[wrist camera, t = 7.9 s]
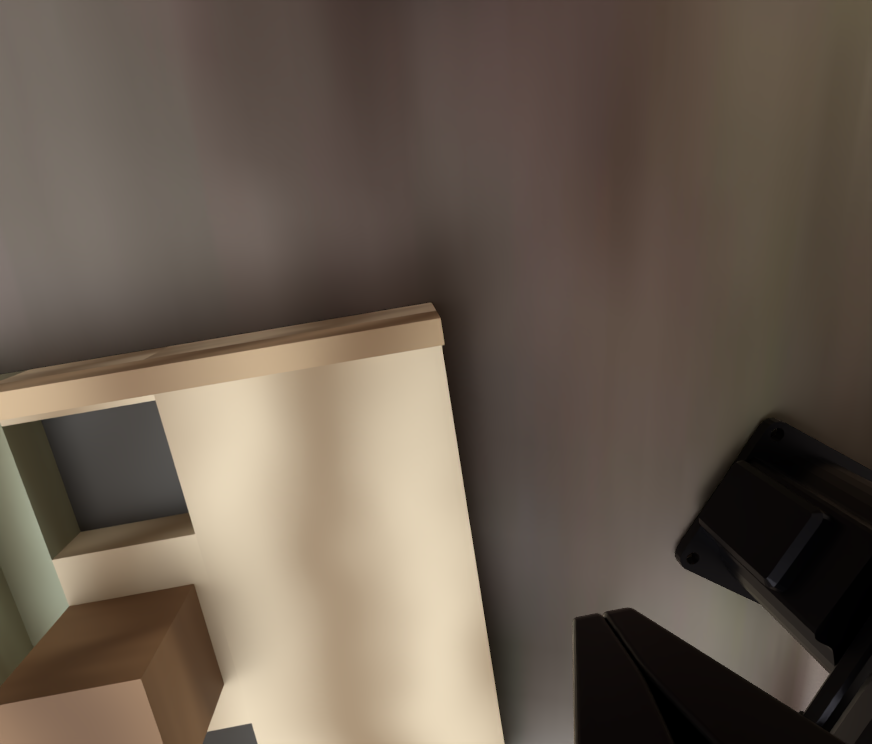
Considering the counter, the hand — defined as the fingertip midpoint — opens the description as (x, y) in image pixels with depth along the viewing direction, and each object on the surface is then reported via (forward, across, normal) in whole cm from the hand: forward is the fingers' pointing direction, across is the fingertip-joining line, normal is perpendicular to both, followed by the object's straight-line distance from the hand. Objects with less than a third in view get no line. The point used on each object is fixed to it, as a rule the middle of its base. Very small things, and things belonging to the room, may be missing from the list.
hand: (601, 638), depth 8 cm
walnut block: (+10, +12, +6) cm, 17 cm away
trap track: (+12, +9, +6) cm, 16 cm away
